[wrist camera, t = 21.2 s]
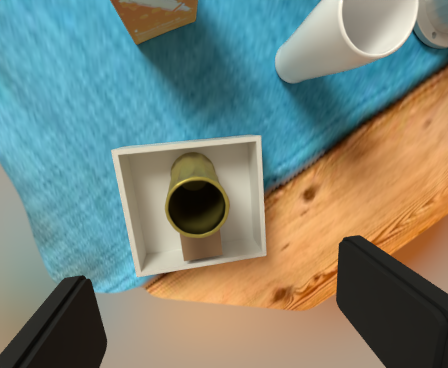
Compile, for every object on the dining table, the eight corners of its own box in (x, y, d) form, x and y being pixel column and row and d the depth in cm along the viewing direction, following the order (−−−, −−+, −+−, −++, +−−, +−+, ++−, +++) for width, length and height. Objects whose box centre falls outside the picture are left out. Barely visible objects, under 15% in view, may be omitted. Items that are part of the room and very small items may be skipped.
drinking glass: (325, 58, 32) (437, 2, 18) (294, 100, 33) (379, 78, 18) (289, 23, 30) (381, -71, 16) (258, 67, 31) (319, 16, 17)
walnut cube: (214, 205, 34) (218, 218, 29) (217, 237, 35) (222, 254, 30) (179, 211, 33) (178, 225, 29) (184, 242, 35) (183, 261, 30)
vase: (195, 203, 34) (201, 256, 20) (160, 176, 32) (141, 213, 18) (223, 171, 33) (250, 203, 19) (190, 142, 31) (193, 154, 18)
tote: (250, 134, 33) (260, 135, 28) (256, 239, 37) (266, 255, 32) (122, 146, 31) (111, 150, 26) (143, 256, 35) (136, 277, 30)
